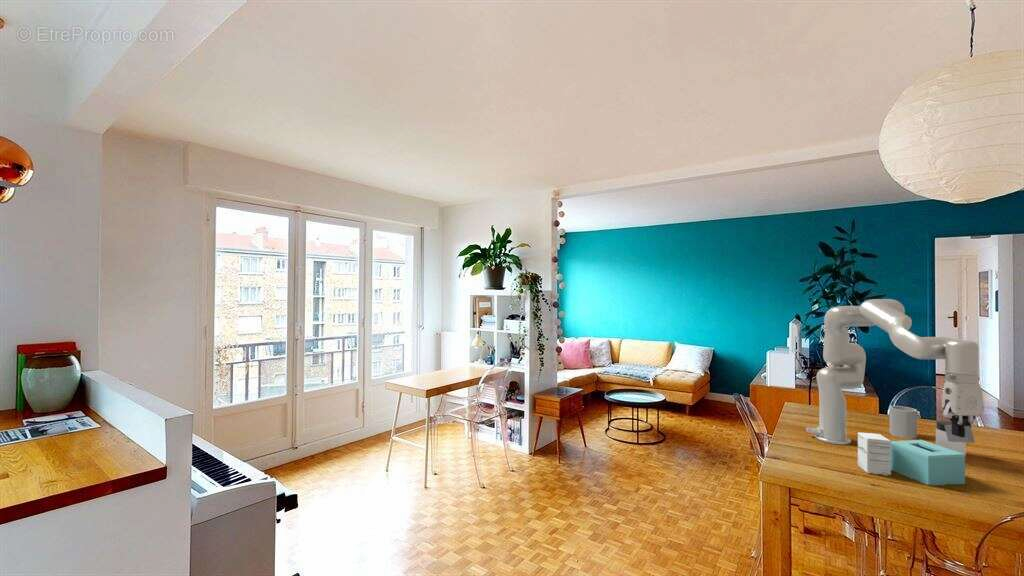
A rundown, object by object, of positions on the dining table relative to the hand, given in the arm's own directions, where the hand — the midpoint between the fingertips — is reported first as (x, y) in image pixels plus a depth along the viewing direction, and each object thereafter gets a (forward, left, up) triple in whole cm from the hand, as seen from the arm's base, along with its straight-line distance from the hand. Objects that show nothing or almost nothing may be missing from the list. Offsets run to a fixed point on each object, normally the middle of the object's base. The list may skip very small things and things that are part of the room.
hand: (961, 435), depth 140 cm
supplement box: (-19, +11, -19) cm, 29 cm away
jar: (+15, +44, -19) cm, 50 cm away
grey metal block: (0, 0, -2) cm, 2 cm away
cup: (+7, +65, -19) cm, 68 cm away
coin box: (-4, +13, -19) cm, 23 cm away
